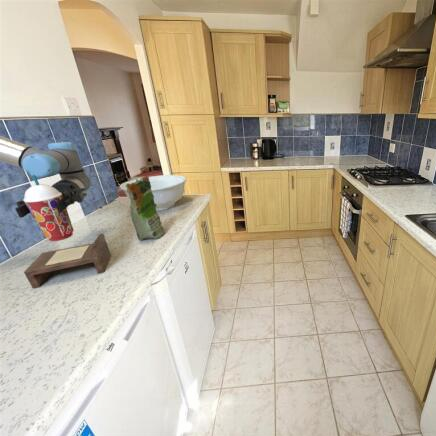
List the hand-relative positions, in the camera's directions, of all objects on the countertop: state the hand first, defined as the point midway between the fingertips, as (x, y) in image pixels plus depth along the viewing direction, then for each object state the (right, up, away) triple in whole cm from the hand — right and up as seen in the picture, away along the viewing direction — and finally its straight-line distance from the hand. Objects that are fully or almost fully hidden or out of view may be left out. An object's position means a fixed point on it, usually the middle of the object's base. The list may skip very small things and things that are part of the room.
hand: (39, 210), depth 69 cm
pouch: (+12, -10, +35) cm, 38 cm away
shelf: (-1, -20, +13) cm, 24 cm away
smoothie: (-2, -9, +9) cm, 12 cm away
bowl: (-3, +4, +69) cm, 69 cm away
